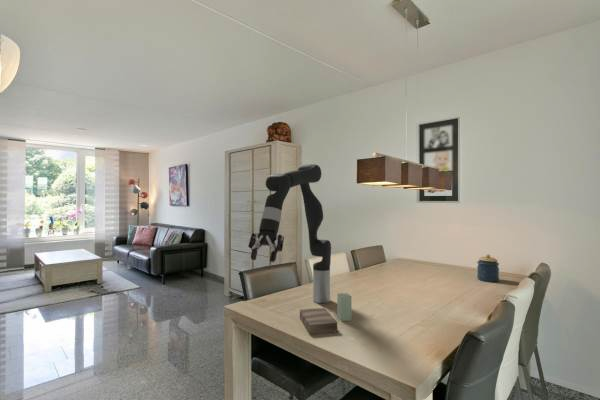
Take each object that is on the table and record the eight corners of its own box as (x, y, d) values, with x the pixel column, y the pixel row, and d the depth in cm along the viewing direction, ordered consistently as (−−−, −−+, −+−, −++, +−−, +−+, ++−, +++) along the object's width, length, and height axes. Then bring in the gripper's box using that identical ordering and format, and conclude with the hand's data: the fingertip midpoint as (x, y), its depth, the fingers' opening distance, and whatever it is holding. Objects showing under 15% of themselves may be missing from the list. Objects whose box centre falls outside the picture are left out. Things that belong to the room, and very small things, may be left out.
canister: (479, 281, 208) (479, 255, 209) (475, 277, 221) (475, 252, 221) (502, 283, 205) (501, 256, 205) (495, 278, 217) (495, 253, 217)
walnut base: (299, 318, 143) (299, 309, 143) (324, 316, 146) (324, 307, 146) (309, 334, 125) (309, 324, 125) (337, 331, 128) (337, 322, 128)
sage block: (337, 317, 144) (337, 293, 144) (347, 316, 145) (347, 293, 146) (341, 321, 139) (341, 296, 140) (351, 320, 141) (351, 296, 141)
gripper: (290, 223, 123) (283, 264, 118) (261, 222, 130) (252, 261, 124) (281, 218, 117) (273, 260, 112) (250, 217, 123) (241, 257, 118)
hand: (262, 260), depth 118 cm, fingers open, 8 cm apart
